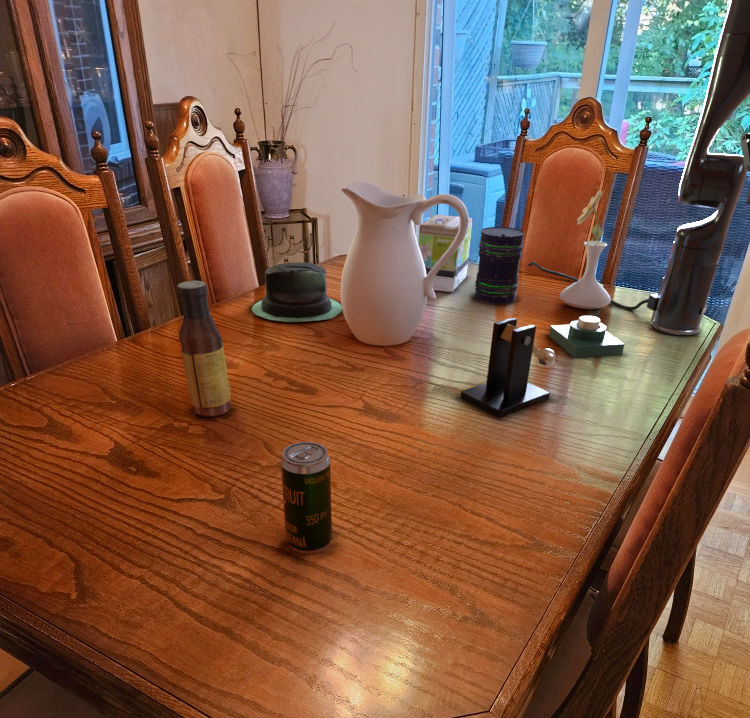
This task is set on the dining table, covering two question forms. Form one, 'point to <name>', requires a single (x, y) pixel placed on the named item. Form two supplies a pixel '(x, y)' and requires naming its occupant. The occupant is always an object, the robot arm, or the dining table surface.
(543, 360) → the lever
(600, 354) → the switch block
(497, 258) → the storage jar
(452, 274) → the tea box
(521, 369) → the bracket
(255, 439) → the dining table surface
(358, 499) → the dining table surface
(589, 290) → the flower in vase
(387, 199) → the pitcher
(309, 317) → the fedora hat
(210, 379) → the sauce bottle
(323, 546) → the green drink can
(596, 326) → the button
